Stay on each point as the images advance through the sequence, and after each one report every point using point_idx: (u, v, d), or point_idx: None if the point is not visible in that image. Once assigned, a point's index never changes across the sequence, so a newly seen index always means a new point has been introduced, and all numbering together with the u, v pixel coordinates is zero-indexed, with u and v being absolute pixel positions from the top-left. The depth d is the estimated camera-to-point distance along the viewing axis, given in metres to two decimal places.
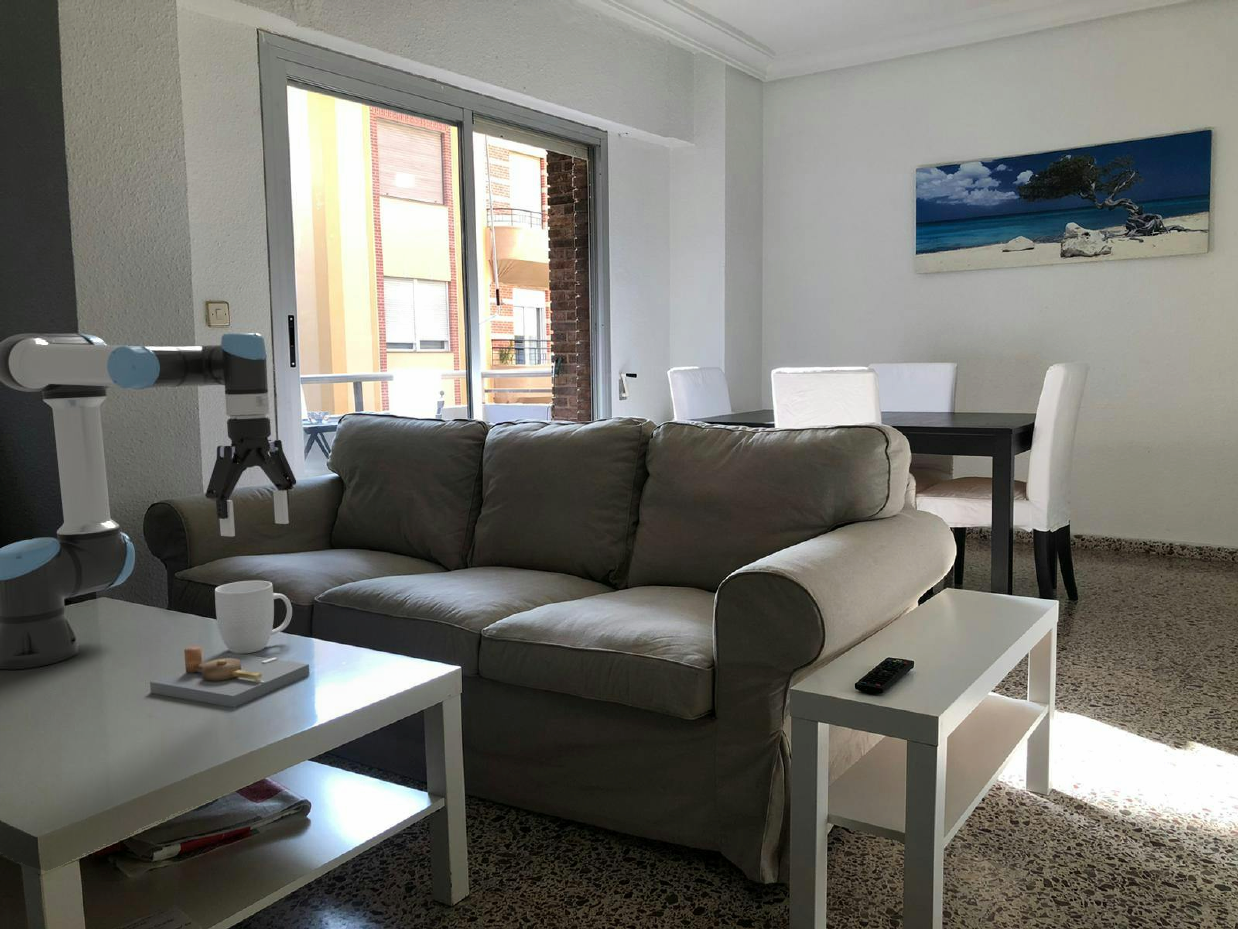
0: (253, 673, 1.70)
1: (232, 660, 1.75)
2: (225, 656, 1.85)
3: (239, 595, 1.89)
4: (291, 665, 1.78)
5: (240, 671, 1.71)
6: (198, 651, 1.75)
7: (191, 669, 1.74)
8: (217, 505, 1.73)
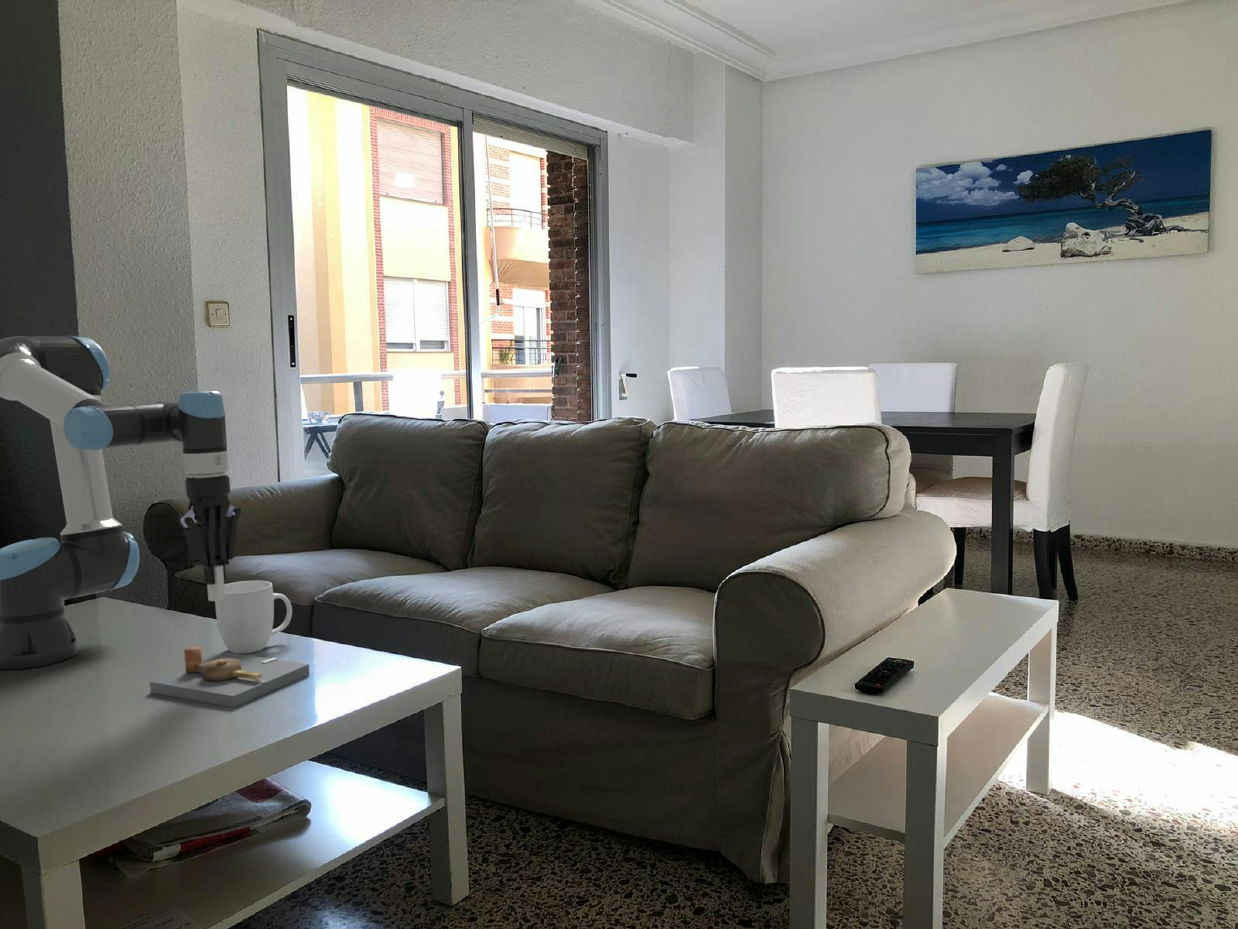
0: (253, 673, 1.70)
1: (232, 660, 1.75)
2: (225, 656, 1.85)
3: (239, 595, 1.89)
4: (291, 665, 1.78)
5: (240, 671, 1.71)
6: (198, 651, 1.75)
7: (191, 669, 1.74)
8: (204, 571, 1.78)
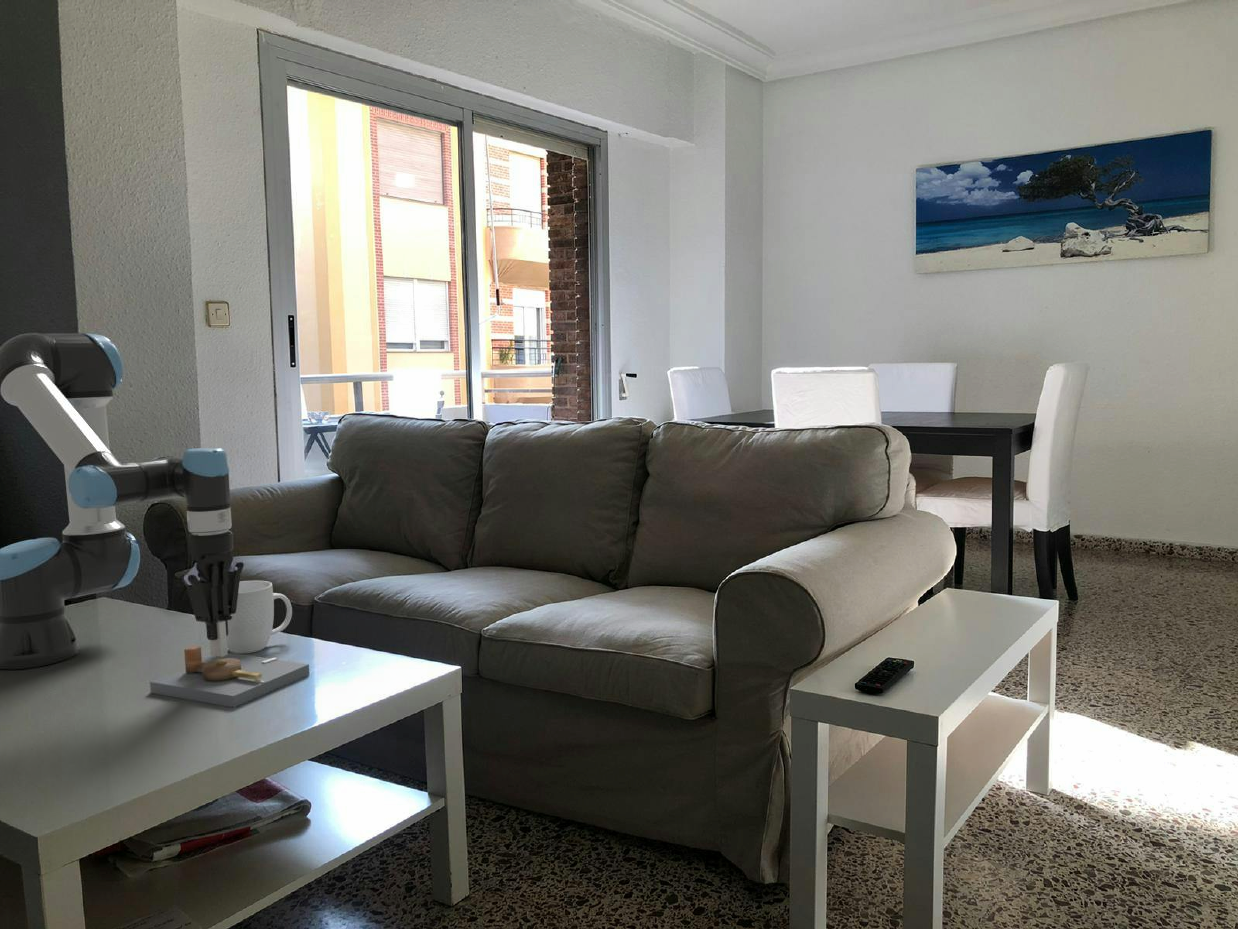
0: (253, 673, 1.70)
1: (232, 660, 1.75)
2: (225, 656, 1.85)
3: (239, 595, 1.89)
4: (291, 665, 1.78)
5: (240, 671, 1.71)
6: (198, 651, 1.75)
7: (191, 669, 1.74)
8: (207, 627, 1.79)
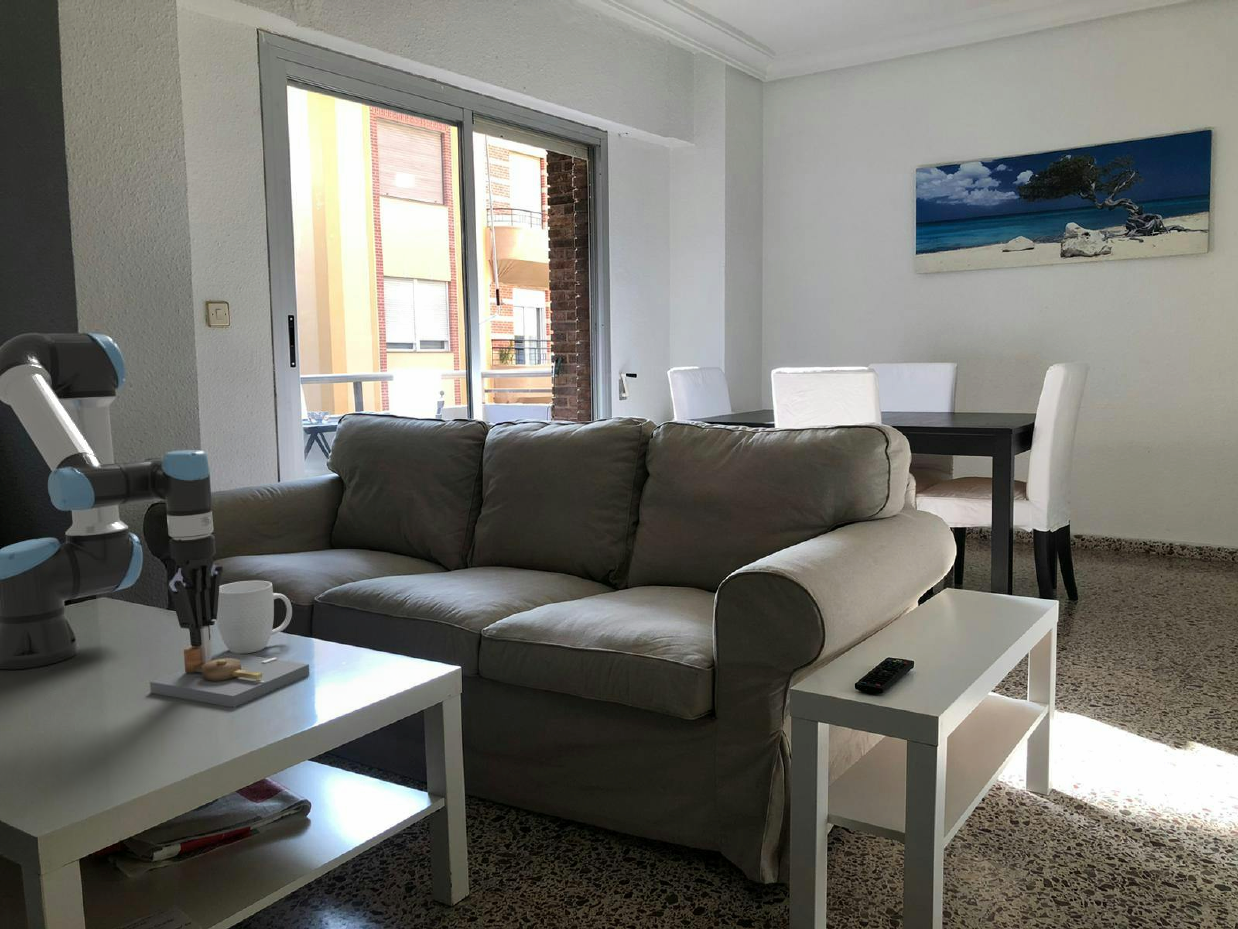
0: (254, 673, 1.70)
1: (232, 660, 1.75)
2: (225, 656, 1.85)
3: (239, 595, 1.89)
4: (291, 665, 1.78)
5: (240, 671, 1.71)
6: (197, 651, 1.75)
7: (191, 669, 1.74)
8: (191, 633, 1.75)
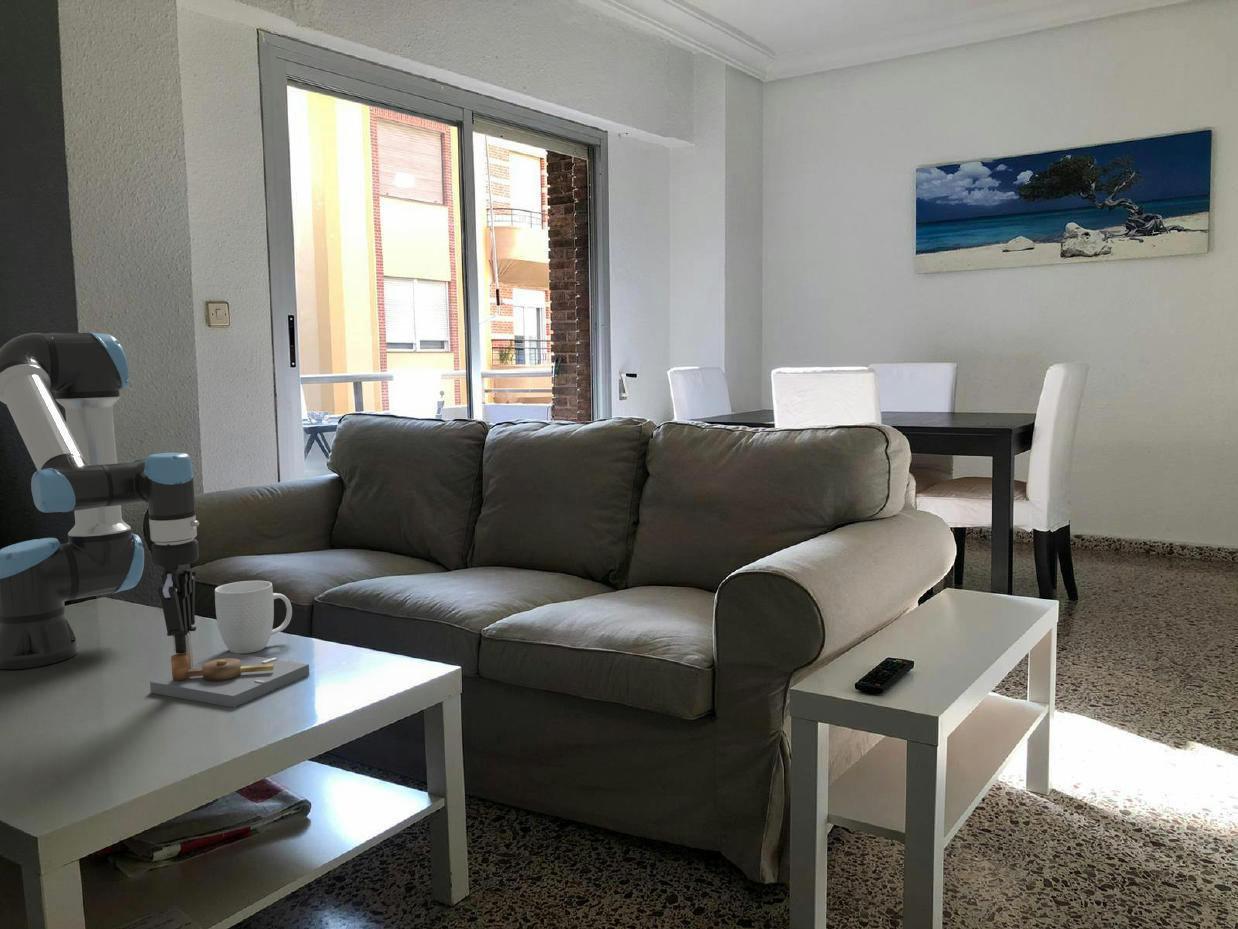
0: (265, 665, 1.74)
1: (226, 660, 1.75)
2: (225, 656, 1.85)
3: (239, 595, 1.89)
4: (291, 665, 1.78)
5: (247, 666, 1.74)
6: (187, 657, 1.72)
7: (183, 676, 1.71)
8: (176, 640, 1.71)
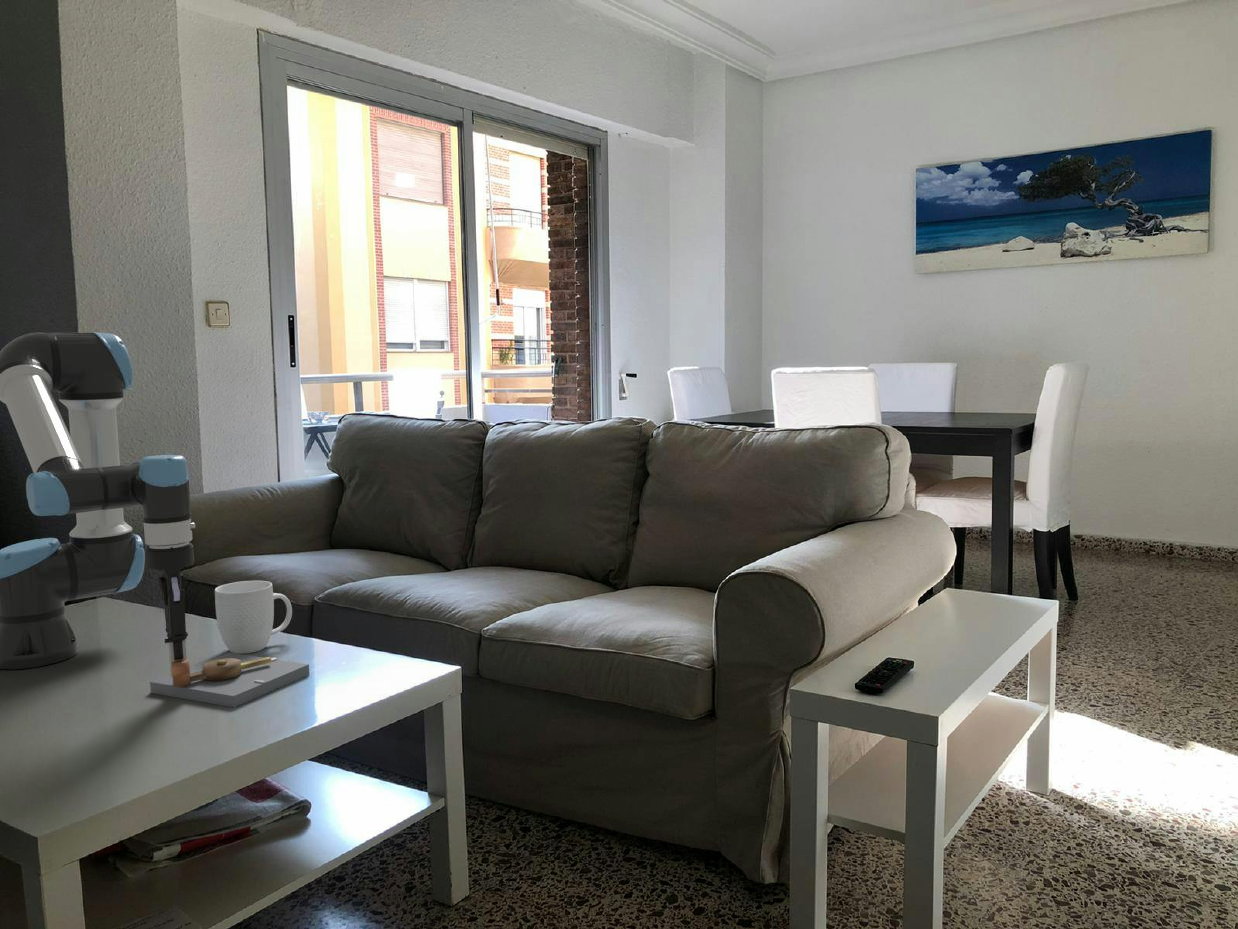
0: (262, 659, 1.78)
1: (218, 660, 1.75)
2: (225, 656, 1.85)
3: (239, 595, 1.89)
4: (291, 665, 1.78)
5: (246, 662, 1.76)
6: None
7: (188, 681, 1.68)
8: (175, 646, 1.67)
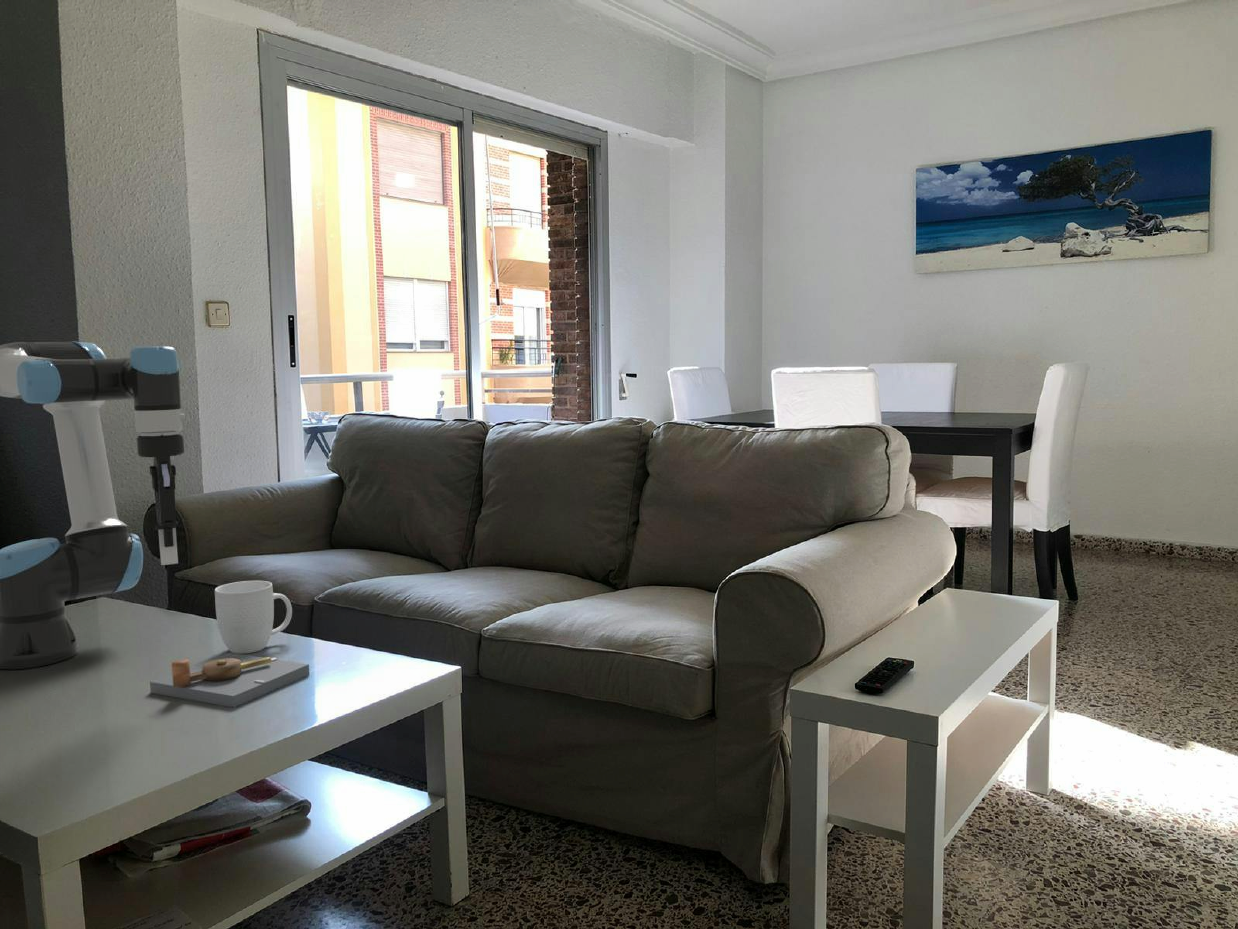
0: (262, 659, 1.78)
1: (218, 660, 1.75)
2: (225, 656, 1.85)
3: (239, 595, 1.89)
4: (291, 665, 1.78)
5: (246, 662, 1.76)
6: None
7: (188, 681, 1.68)
8: (165, 533, 1.71)
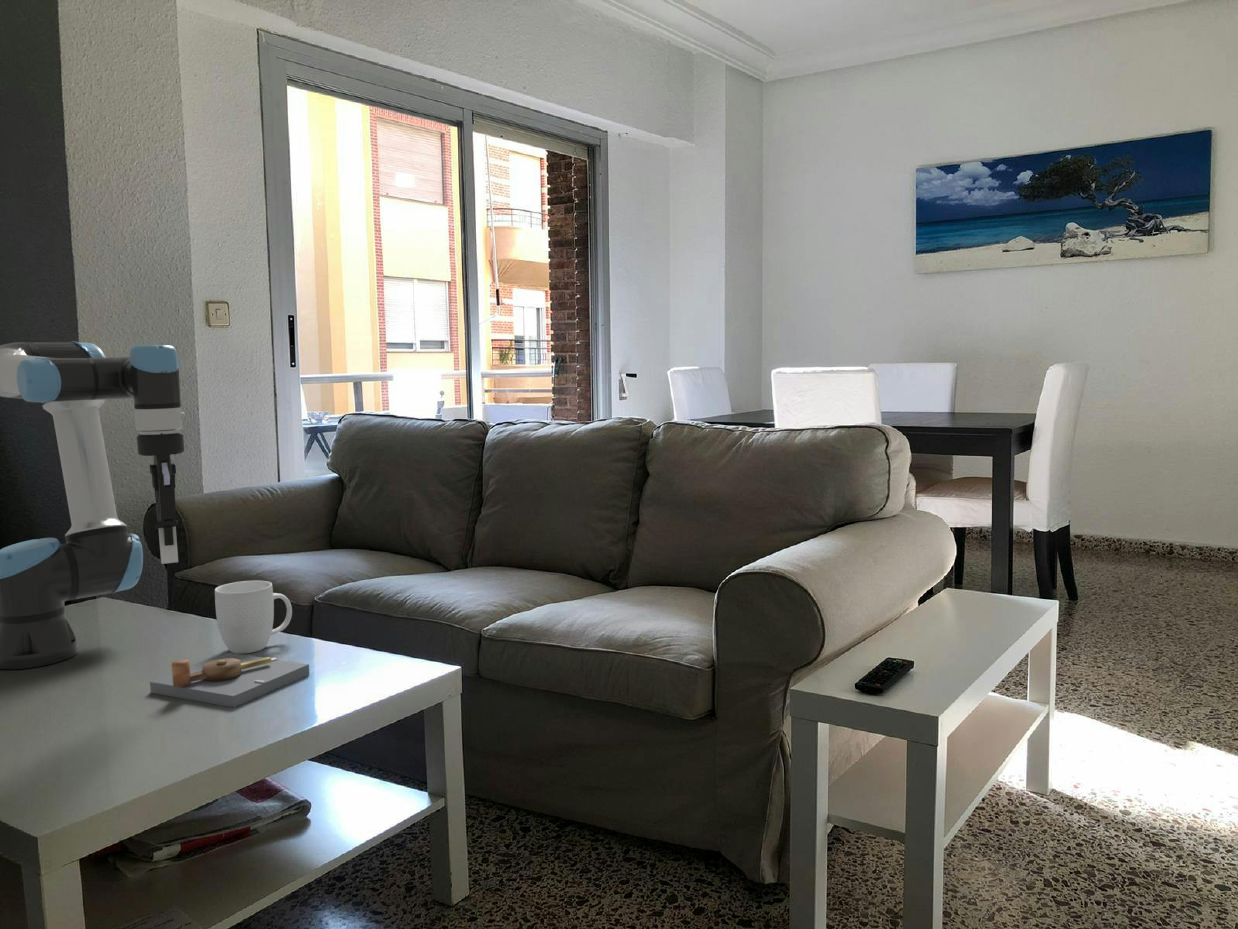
0: (262, 659, 1.78)
1: (218, 660, 1.75)
2: (225, 656, 1.85)
3: (239, 595, 1.89)
4: (291, 665, 1.78)
5: (246, 662, 1.76)
6: None
7: (188, 681, 1.68)
8: (166, 532, 1.71)
